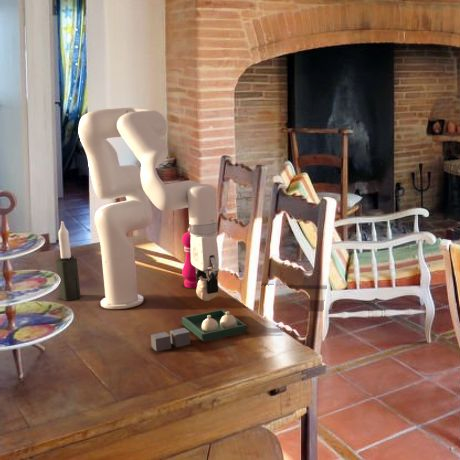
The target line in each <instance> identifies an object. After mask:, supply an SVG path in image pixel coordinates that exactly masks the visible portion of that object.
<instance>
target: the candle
mask: <svg viewBox="0 0 460 460" xmlns="http://www.w3.org/2000/svg"><path fill="white" fill-rule="evenodd" d="M59 228H60V229H59V230H58V234H57V235H58V244H59V250H60V251H59V252H60V256H58V257H57V258H56V259H55V267H56V275H57V274H58V275H59V276H60V278H61V282H60V284H59V286H58V285H57V286H58V287H57V288H58V295H59V296H58V297H59V299H60V300H63V301H66V302H69V301H72V300H75V299H80V298H81V286H80V276H79V268H78V259H77V258H76V257H75V255H72V253H71V251H72V250H71V243H70V233H69V230H68V229H67V228H66V225H65V221H64V220H61V222H60V227H59Z"/></svg>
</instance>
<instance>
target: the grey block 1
mask: <svg viewBox="0 0 460 460" xmlns="http://www.w3.org/2000/svg"><path fill="white" fill-rule="evenodd" d="M150 342H151V348H152V349H153V350H154V351H155V352H161V351H164V350H170V349H172V343H171V336H170V333H168V332H167V331H163V332H162V331H161V332H157V333H153V334H150Z"/></svg>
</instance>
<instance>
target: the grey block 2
mask: <svg viewBox="0 0 460 460" xmlns="http://www.w3.org/2000/svg"><path fill="white" fill-rule="evenodd" d="M169 335H170V336H171V345H172V346H174V347H175V348H178V347H183V346H187V345H191V331H190V330H189V329H188V328H186V327H181V328H177V329H172V330H169Z"/></svg>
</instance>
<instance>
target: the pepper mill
mask: <svg viewBox="0 0 460 460" xmlns="http://www.w3.org/2000/svg"><path fill="white" fill-rule="evenodd" d="M181 243H182V244H183V245H184V246H183V251H184V252H185V261H184V264H183V267H182V271H181V274H182V277H183V278H184V281H183V282H184V283H183V284H184V288H188V289H197V282H196V274H197V273H196V271H195V269H196V267H194V266H193V265H192V264H191V235H190V227H188V228H187V232H185V233H184V234H183V235H182V236H181Z"/></svg>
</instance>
